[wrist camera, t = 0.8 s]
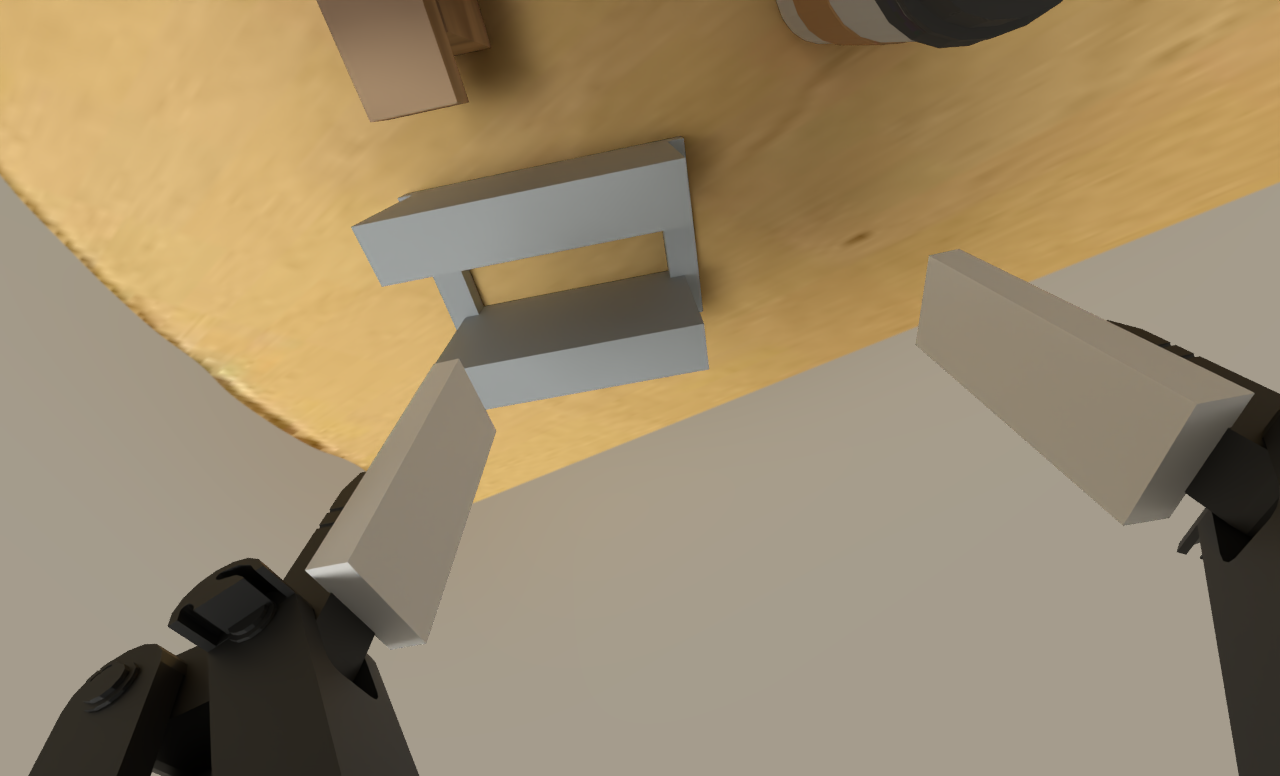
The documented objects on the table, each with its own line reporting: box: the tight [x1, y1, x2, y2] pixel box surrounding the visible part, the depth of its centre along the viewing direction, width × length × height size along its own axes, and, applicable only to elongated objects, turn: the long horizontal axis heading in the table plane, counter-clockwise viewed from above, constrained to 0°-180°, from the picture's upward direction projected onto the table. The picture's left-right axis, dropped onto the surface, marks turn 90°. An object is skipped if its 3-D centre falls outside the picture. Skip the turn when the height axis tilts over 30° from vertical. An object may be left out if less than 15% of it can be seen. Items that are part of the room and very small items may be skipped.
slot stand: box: [351, 136, 709, 410], centre depth 28 cm, size 11×18×10 cm, turn 100°
